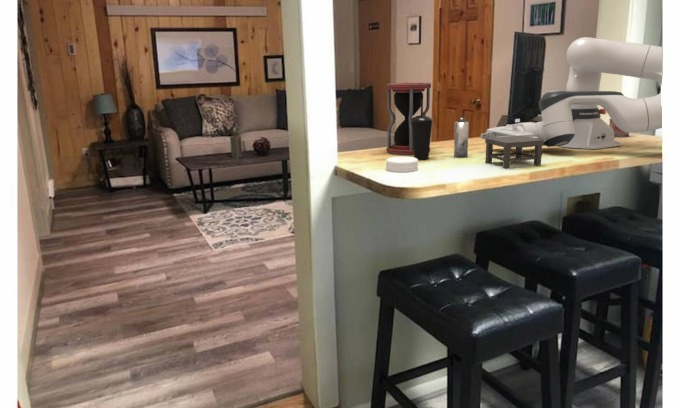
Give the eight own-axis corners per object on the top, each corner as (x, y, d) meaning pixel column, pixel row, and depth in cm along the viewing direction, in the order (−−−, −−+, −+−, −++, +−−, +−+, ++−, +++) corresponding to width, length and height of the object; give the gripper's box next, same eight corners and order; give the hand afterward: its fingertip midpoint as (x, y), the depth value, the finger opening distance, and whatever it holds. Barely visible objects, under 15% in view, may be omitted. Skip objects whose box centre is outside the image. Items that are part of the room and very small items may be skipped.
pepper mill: (463, 155, 185) (464, 116, 181) (469, 157, 180) (471, 117, 177) (451, 156, 183) (452, 117, 180) (457, 158, 179) (459, 118, 176)
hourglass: (433, 154, 188) (434, 83, 181) (388, 155, 188) (388, 84, 181) (426, 147, 203) (427, 81, 197) (384, 148, 203) (384, 83, 197)
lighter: (609, 137, 215) (611, 113, 212) (606, 136, 218) (609, 112, 215) (630, 137, 213) (633, 112, 211) (627, 136, 217) (630, 112, 214)
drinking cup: (419, 156, 185) (419, 98, 180) (437, 158, 180) (438, 99, 175) (405, 159, 180) (405, 100, 175) (423, 161, 175) (424, 101, 170)
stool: (519, 159, 174) (520, 135, 171) (541, 165, 162) (543, 140, 160) (484, 162, 170) (485, 138, 168) (505, 169, 159) (506, 143, 157)
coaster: (379, 170, 164) (379, 159, 163) (399, 165, 171) (399, 155, 170) (404, 174, 157) (404, 163, 156) (424, 169, 164) (424, 158, 163)
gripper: (541, 147, 177) (505, 150, 173) (506, 140, 196) (473, 143, 193) (542, 129, 175) (506, 131, 172) (507, 123, 195) (474, 126, 191)
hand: (488, 137), depth 182 cm, fingers open, 8 cm apart
